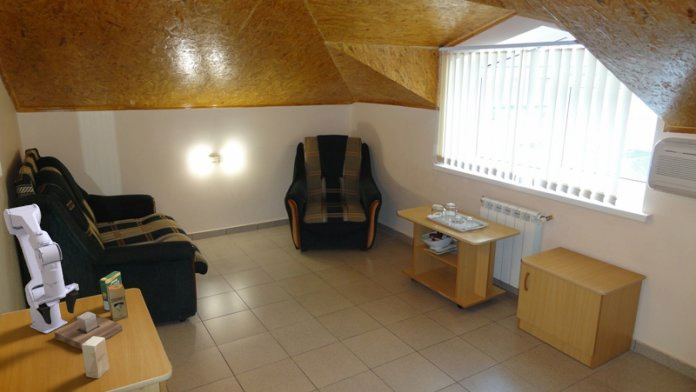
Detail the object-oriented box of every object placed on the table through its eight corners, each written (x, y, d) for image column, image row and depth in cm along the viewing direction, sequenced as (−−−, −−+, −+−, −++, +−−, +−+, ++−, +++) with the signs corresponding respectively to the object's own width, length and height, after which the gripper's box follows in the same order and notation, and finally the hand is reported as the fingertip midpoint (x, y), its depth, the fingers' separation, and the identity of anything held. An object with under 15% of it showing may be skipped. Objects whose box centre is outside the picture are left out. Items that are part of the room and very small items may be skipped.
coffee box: (109, 312, 180) (105, 280, 177) (103, 310, 181) (98, 279, 177) (125, 301, 188) (121, 271, 184) (119, 300, 189) (114, 270, 185)
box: (98, 379, 144) (93, 347, 141) (85, 377, 145) (80, 345, 142) (110, 368, 149) (105, 337, 146) (97, 366, 150) (92, 335, 146)
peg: (80, 334, 165) (77, 316, 163) (90, 329, 168) (87, 311, 166) (87, 337, 163) (84, 319, 161) (98, 332, 167) (95, 314, 165)
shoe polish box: (110, 315, 178) (106, 286, 175) (125, 311, 181) (121, 282, 178) (113, 321, 174) (109, 291, 171) (128, 317, 177) (124, 287, 174)
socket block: (55, 338, 164) (54, 332, 163) (92, 319, 176) (91, 313, 175) (85, 351, 157) (84, 345, 156) (122, 330, 169) (121, 324, 168)
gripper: (37, 293, 147) (45, 331, 151) (82, 274, 159) (87, 310, 163) (24, 287, 150) (32, 325, 154) (68, 270, 162) (74, 305, 166)
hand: (59, 317), depth 159 cm, fingers open, 7 cm apart
